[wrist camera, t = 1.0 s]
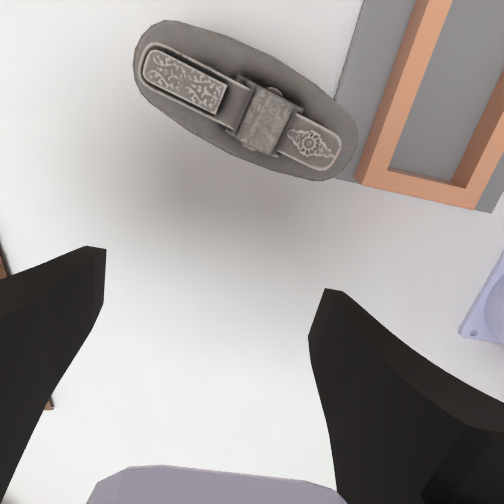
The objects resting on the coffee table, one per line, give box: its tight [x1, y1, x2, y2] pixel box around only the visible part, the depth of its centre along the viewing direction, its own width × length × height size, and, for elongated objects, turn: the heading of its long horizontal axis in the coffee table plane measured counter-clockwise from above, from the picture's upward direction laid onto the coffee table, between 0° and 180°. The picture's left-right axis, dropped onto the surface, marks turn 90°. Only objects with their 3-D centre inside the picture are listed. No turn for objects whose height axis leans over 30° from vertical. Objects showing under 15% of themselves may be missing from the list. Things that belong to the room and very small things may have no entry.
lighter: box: [133, 20, 358, 181], centre depth 15 cm, size 8×3×10 cm, turn 65°
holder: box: [333, 0, 504, 213], centre depth 18 cm, size 11×12×2 cm
